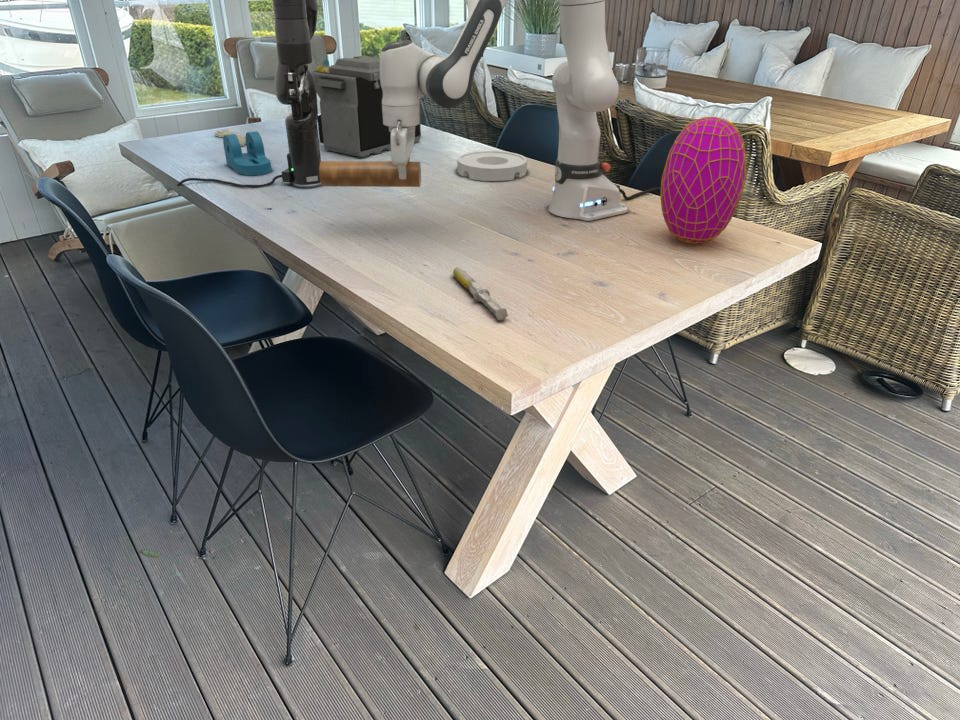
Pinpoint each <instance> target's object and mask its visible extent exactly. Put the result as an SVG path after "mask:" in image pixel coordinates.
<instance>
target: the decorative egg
mask: <svg viewBox="0 0 960 720" xmlns="http://www.w3.org/2000/svg"><path fill="white" fill-rule="evenodd" d="M746 152H747V151H746V147H745V142H744V139H743V137H742V135H741V132H740V131H739V129H738V128H737V126H736V125H735V124H734V123H733V122H731V121H729V120H727V119H724V118H721V117H717V116H704V117H700V118H697V119H694V120H692V121H691V122H689V123H688V124H686V125H685V126H684V127H683V129H681V132H680V133H679V134H678V135H677V136H676V138H675V140H674V142H673V144H672V145H671V147H670V149H669V152H668V155H667V158H666V162H665V164H664V168H663V170H662V171H663V172H662V175H661V181H660V188H661V191H660V193H659V195H660V196H659V197H660V205H661V212H662V213H661V214H662V217H663V221H664V223H665V225H666V227H667V229H668V231H669V233H671V234H672V235H673V236H674V237H675V238H676V239H677V240H679V241H681V242H683V243H684V242H685V243H688V244H705V243H708V242H711V241H712V240H714V239H715V238H717V237H718V236H720V235H721V233H723V231H724V230H725V229H726V228H727V227H728V226H729V223H730V222H731V220H732V218H733V216H734V214H735V212H736V209H737V207H738V205H739V202H740V201H741V199H742V198H741V197H742V195H743V191H744V187H745V181H746V174H747V153H746Z"/></svg>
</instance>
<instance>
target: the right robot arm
mask: <svg viewBox="0 0 960 720" xmlns="http://www.w3.org/2000/svg"><path fill="white" fill-rule="evenodd" d="M464 2H465V4H466V6H467V19H466V22H465V24H464V26H463V28H462V30H461V32H460V34H459V37H458V38H457V40H456V42H455V44H454V46H453V48H452V50H451V52H450V53H448V55H447V56H445V57H444V56H442V55H438V54H435V53H432V52H431V51H428V50H425V49H423V48H422V47H420V46H418V45H417V44H415V43H414V42H413V41H412V40H409V39H401V40H396V41H391V42H389V43H387V44H385V45H384V46H383V47H382V49H381V50H380V55H379V58H380V84H381V87H382V91H383V97H382V114H383V124H384V125H385V126H389V131H390V132H391V150H390V159H391V161H392V164H393V165H397V168H398V172H399V179H406V178H407V171H406V165H407V163H408V162H411V161H410V160H411V155H412V152H413V148H414V146H415V143H414V140H415V126H416V125H419V124H420V122H421V107H420V108H419V100H420V101H421V98H427V99H429V100H431V101H433V102H434V103H435V104H436V105H437V106H439V107H442V108H443V109H444V108H445V109H454V108H457V107H459V106H461V105H463V104H464V102H465V101H466V100H467V99H468V98H469V96H470V94H471V92H472V88H473V82H474V78H475V77H474V76H475V73H476V69H477V67H478V65H479V63H480V61H481V59H482V57H483V55H484V53H485V51H486V49H487V47H488V45H489V42H490V41H491V39H492V37H493V34H494V32H495V30H496V29H497V26H498V24H499V21H500V18H501V16H502V13H503V11H504V9H505V7H506V5H507V3H508V2H509V0H464ZM558 3H559V4H558V6H559V27H560V28H559V31H560V32H559V33H560V41H561V43H562V46H563V48H564V51H565V54H566V59H567V60H565V61H563V62H562V63H560V64H558V66H557V67H556V68H555V69H554V71H553V74H552V77H551V85H552V89H553V92H554V95H555V102H556V113H557V121H558V147H557V158H556V159H555V167H554V185H553V187H552V191H553V192H552V196H551V200H550V204H549V206H548V209H547V210H548V212H549V213H550V214H552V215H554V216H558V217H561V218H566V219H574V220H580V221H586V222H593V221H596V220H600V219H604V218H611V217H613V216H619V215H622V214H627V213H628V206H627V205H626V204H624V203H623V202H622V201H621V195H622V198H623V199H624V200H626V201H629V200H632V199H634V198H636V197H639V196H643V195H645V194H649V193H651V192H655V191H656V192H657V191H660V192H661V187H652V188H649V189H646V190H643V191H639V192H636V193H633V194H631V195H630V196H627V194H626V192H625V191H624V190H623V189H622V188H621V185H619V184H616V183H614V182H612V181H611V180H610V179H609V178H608V177H607V176H605V174H604V172H609V171H610V170H611V168H612V167H611V165H610V164H609V163H607V162H602V161H600V160H599V155H600V146H601V145H600V144H601V135H602V134H601V128H600V125H599V122H598V116H597V113H601V112H605V111H607V110H609V109H610V108H611V107H613V106H614V104H616V103H615V102H616V101H617V99H618V96H619V91H620V87H619V82H618V79H617V78H616V76H615V73H614V71H613V67H612V62H611V56H610V53H609V49H608V48H609V46H608V43H607V42H608V41H607V35H606V34H607V33H606V0H558ZM603 171H604V172H603Z"/></svg>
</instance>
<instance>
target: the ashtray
mask: <svg viewBox="0 0 960 720" xmlns="http://www.w3.org/2000/svg"><path fill="white" fill-rule="evenodd" d="M456 161H457V162H456V163H457V164H456V165H457V169H456V170H457V174H458V175H460V176H461V177H464V178H465V177H467V178H468V179H470V180H473V181H474V180H475V181H482V182H503V181H504V182H506V181H512V180H515V178H516V179H517V178H519V179H520V178H523V177H524V176H526V175H527V172H528V159H527V157H526V156H524V155H522V154H519V153H516V152H511V151H503V150H478V151H471V152H470V151H469V152H466V153H463V154H460V155H459V156H458V157H457V158H456Z"/></svg>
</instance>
